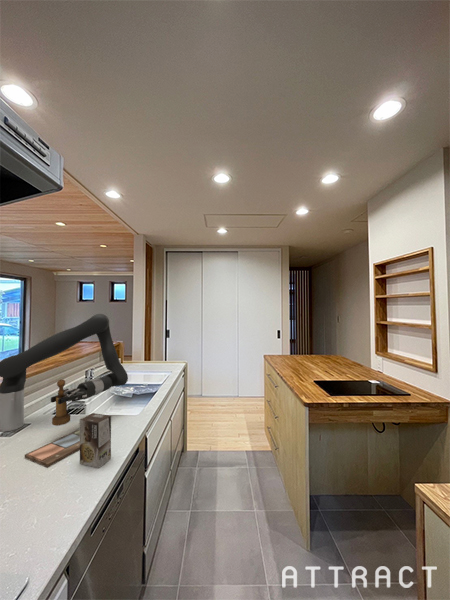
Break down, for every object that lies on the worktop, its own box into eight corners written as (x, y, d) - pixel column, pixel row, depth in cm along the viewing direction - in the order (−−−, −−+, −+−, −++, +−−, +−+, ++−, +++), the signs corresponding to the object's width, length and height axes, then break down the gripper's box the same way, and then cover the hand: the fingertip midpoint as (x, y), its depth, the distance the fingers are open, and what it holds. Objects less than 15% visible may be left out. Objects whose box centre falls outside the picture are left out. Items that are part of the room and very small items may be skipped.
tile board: (24, 457, 100) (24, 453, 100) (88, 427, 124) (88, 424, 124) (47, 467, 94) (47, 462, 94) (109, 433, 118) (109, 430, 118)
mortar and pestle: (61, 426, 109) (61, 382, 109) (48, 425, 110) (48, 381, 110) (73, 419, 115) (73, 378, 115) (61, 418, 117) (60, 377, 117)
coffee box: (111, 458, 99) (112, 415, 99) (98, 468, 93) (98, 422, 93) (92, 454, 102) (93, 412, 102) (78, 463, 96) (78, 419, 96)
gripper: (80, 378, 129) (43, 389, 113) (101, 382, 123) (66, 394, 107) (80, 394, 129) (44, 407, 113) (101, 398, 123) (66, 412, 107)
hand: (55, 400), depth 110 cm, fingers closed on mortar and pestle, 4 cm apart
